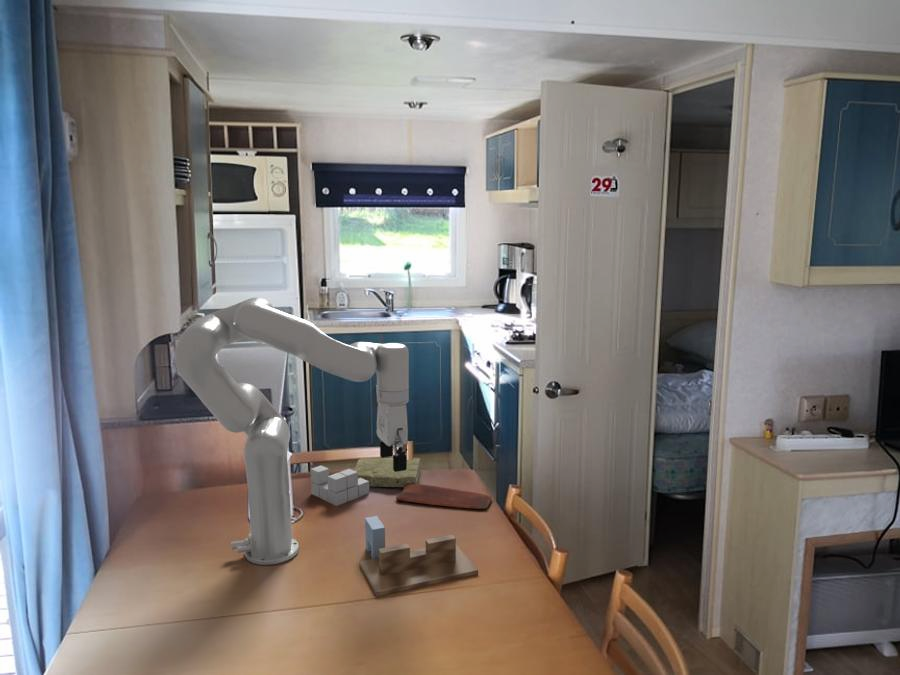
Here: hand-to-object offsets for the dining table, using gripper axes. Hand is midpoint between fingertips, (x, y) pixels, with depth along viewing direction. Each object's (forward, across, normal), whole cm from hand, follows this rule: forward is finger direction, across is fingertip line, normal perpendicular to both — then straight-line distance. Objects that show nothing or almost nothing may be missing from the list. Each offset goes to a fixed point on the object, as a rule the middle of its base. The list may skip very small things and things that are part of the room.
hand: (393, 463), depth 165 cm
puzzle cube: (+22, -35, -4) cm, 42 cm away
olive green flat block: (+21, -41, +12) cm, 47 cm away
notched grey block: (+21, +3, -6) cm, 22 cm away
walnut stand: (+21, +14, +1) cm, 25 cm away
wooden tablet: (+21, -18, +22) cm, 35 cm away
